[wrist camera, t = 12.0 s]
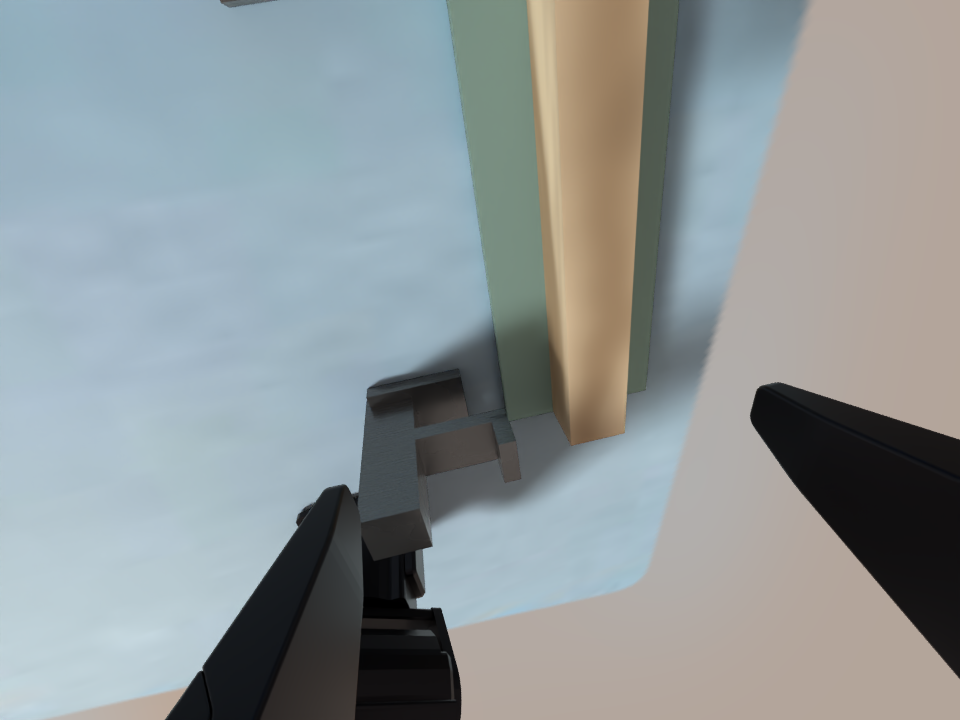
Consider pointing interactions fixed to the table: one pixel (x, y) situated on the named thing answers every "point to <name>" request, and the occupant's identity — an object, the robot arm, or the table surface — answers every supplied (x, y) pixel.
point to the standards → (418, 450)
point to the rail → (588, 198)
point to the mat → (515, 192)
